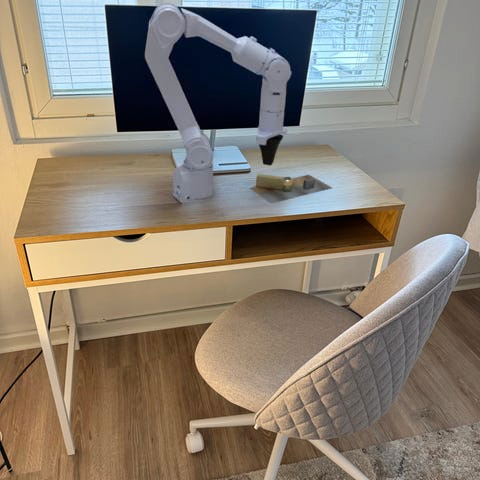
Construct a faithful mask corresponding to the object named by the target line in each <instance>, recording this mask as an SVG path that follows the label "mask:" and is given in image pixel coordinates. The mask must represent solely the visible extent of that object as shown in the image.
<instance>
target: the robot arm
mask: <svg viewBox="0 0 480 480" xmlns="http://www.w3.org/2000/svg"><path fill="white" fill-rule="evenodd" d="M183 34H184V37H185V38H193V37H199V38H202V39H203V40H206V41H208V42H209V43H211V44H214V45H215V46H217V47H220V48H221V49H223V50H225V51H227V52H229V53H230V54H231V57H232V61H233V62H234V63H236V64H238V65H239V66H241V67H244V68H245V69H247V70H249V71H250V72H253V73H255V74H256V75H258V76H259V75H261V76H262V81H261V82H262V84H261V90H260V91H261V92H260V107H259V121H258V122H259V124H258V126H257V133H258V134H257V135H256V144H257V145H258V146H259V150H260V153H261V159H262V164H263V165H266V166H272V165H273V164H274V162H275V161H274V160H275V158H276V154H277V151H278V149H279V145H280V144H281V142H282V140H283V139H284V135H286V134H287V133H288V129H287V128H284V120H285V119H284V118H285V107H286V96H287V83H288V81H289V80H290V78H291V75H292V71H291V66H290V63H289V61H288V60H287V59H285V58H284V57H283V56H281V55H280V54H279V53H278V52H276V50H275V49H273V48H272V47H269V48H268V47H265V46H263V45H262V44H260V43H258V42H257V41H258V40H257V38H255V37H254V36H250V37H248V36H246V35H244V36H242V37H238V38H236V37H235V36H234V35H232V34H230V33H228V32H227V31H225V30H223V29H222V28H221V27H219V26H217V25H215V24H214V23H212V22H211V21H210V20H207V19H205V17H202V16H201V15H200V14H196V13H195V12H192V11H190V10H187V9H184V8H182V7H180V9H179V7H177V6H176V5H175V4H173V3H170V2H163V3H161V4H159V5H157V7H155V10H154V11H153V13H152V15H151V18H150V19H149V22H148V30H147V36H146V37H147V38H146V43H145V50H144V59H145V61H146V63H147V65H148V68H149V70H150V73H151V74H152V76H153V79H154V80H155V83H156V85H157V88H158V89H159V91H160V93H161V95H162V98H163V100H164V102H165V104H166V107H167V108H168V110H169V113H170V114H171V117H172V119H173V121H174V123H175V126H176V127H177V130H178V132H179V134H180V137H181V139H182V143H183V146H184V149H185V153H186V157H185V158H184V159H183V163H182V164H181V165H180V166H177V167H175V168H174V169H173V173H172V178H173V179H172V183H173V188H172V189H173V193H172V196H173V197H174V198H175V199H176V200H177V201H179V203H181V204H184V202H188V201H192V200H201V199H207V198H209V197H212V195H213V194H214V192H213V191H214V157H215V156H214V151H213V149H212V148H211V144H210V143H211V141H210V138H209V137H208V136H207V135H206V134H205V133H204V132H203V131H202V129H200V126H199V124H198V121H196V117H195V116H194V114H193V111H192V108H191V107H190V104H189V102H188V100H187V98H186V95H185V93H184V91H183V89H182V86H181V83H180V82H179V80H178V77H177V75H176V72H175V70H174V68H173V66H172V64H171V61H170V59H169V56H170V54H171V53H172V50H173V49H174V48H173V47H174V44H175V43H177V42H178V40H179V39H180V38H181V37H182V35H183Z"/></svg>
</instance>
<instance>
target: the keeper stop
mask: <svg viewBox="0 0 480 480" xmlns="http://www.w3.org/2000/svg"><path fill="white" fill-rule="evenodd" d="M314 178H315V177H314ZM314 178H310V179H306V180H304V183H303V189H305V190H307V189H311V188H314V185H315V179H314Z"/></svg>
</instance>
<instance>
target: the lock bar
mask: <svg viewBox="0 0 480 480" xmlns="http://www.w3.org/2000/svg"><path fill="white" fill-rule="evenodd" d="M292 183H293V179H292V177H289V176H284V177H283V176H277V175H269V174H262V173H257V175H256V181H255V186H259V187H266V188H273V189H281V190H284V191H291V190H292Z"/></svg>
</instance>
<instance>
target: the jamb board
mask: <svg viewBox="0 0 480 480" xmlns="http://www.w3.org/2000/svg"><path fill="white" fill-rule="evenodd" d="M291 178H292V177H291ZM310 178H314V179H315V185H314V188H311V189H307V190H305V189H303V183H304V180H306V179H310ZM292 179H293V183H292V190H291V191H284V190H281V189H273V188H266V187H259V186H256V185H255V186H252V187H249V189H250V190H251V191H253V192H254V193H255V194H256V195H259V196H260V197H262V199H265V200H266V201H267V202H269V203H270V204H275V203H278V202H282V201H286V200H290V199H295V198H299V197H302V196H308V195H310V194H314V193H315V194H316V193H319V192H322V191H326V190H331V189H333V187H332V186H331V185H328V184H327V183H324V182H323V181H322V180H319V179H318V178H316V177H314V176H312V175H310V174H306V175H300V176H297V177H293V178H292Z"/></svg>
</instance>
